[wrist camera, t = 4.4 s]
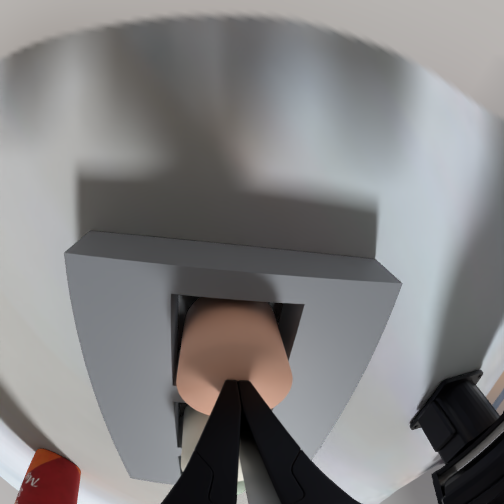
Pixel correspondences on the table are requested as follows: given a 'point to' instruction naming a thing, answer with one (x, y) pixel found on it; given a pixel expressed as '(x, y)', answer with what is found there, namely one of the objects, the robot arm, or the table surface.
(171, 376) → the grey flat board
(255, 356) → the pink button
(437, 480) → the robot arm
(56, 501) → the paper cup
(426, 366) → the table surface
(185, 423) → the cream button
